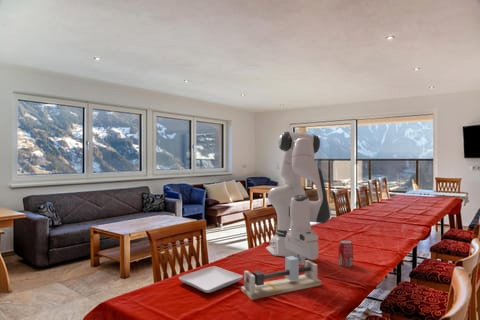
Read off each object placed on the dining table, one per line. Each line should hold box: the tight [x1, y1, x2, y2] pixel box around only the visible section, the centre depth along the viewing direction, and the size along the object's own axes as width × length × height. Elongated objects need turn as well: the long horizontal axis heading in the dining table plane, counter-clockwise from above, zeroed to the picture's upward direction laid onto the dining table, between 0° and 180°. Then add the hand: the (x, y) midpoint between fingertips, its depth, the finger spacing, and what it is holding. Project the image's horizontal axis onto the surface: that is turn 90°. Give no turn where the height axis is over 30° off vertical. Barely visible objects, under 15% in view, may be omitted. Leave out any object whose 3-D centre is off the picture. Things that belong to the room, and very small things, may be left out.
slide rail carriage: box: [284, 256, 300, 281], centre depth 141 cm, size 4×4×9 cm
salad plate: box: [178, 265, 244, 294], centre depth 145 cm, size 21×21×3 cm
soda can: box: [338, 239, 354, 268], centre depth 166 cm, size 7×7×12 cm
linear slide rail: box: [240, 259, 323, 301], centre depth 139 cm, size 10×34×8 cm, turn 114°
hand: (300, 264), depth 142 cm, fingers closed
